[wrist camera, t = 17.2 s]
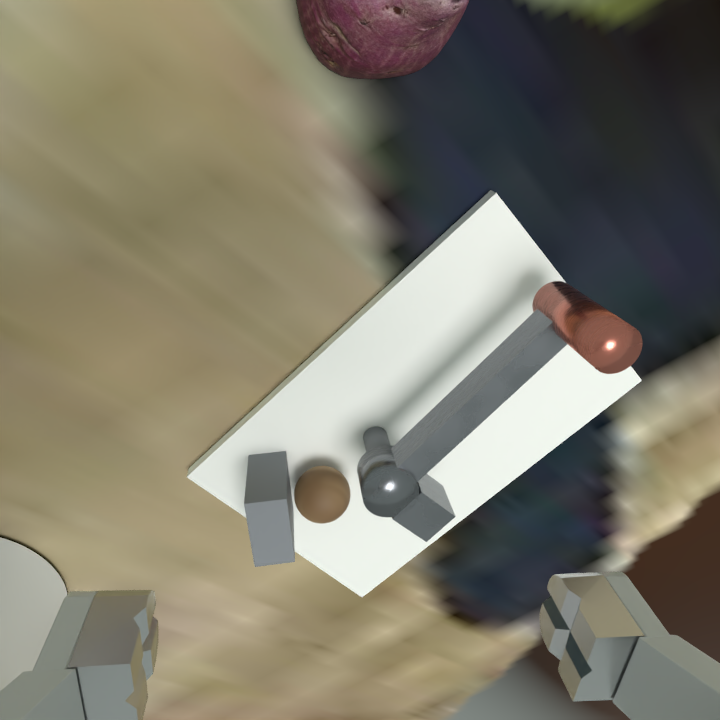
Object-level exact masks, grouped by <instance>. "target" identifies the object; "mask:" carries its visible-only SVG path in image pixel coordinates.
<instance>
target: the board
mask: <svg viewBox="0 0 720 720" xmlns="http://www.w3.org/2000/svg"><path fill="white" fill-rule="evenodd" d="M553 281H562V282H565V281H564V280H563V278H562V277H561V276H560V274H559V273H558V272H557V270H556V269H555V268H554V267H553V265H552V264H551V263H550V261H549V260H548V259H547V258H546V256H545V255H544V254H543V252H542V251H541V250H540V249H539V247H538V246H537V245H536V243H535V242H534V241H533V240H532V238H531V237H530V236H529V234H528V233H527V232H526V231H525V229H524V228H523V227H522V225H521V224H520V223H519V222H518V220H517V219H516V218H515V216H514V215H513V214H512V213H511V211H510V210H509V209H508V207H507V206H506V205H505V204H504V202H503V201H502V200H501V198H500V197H499V196H498V194H497V193H495V192H493V191H491V190H490V191H489V192H488V193H487V194H486V195H485V196H484V197H483V198H482V199H480V200H479V201H478V202H477V203H476V204H475V205H474V206H473V207H472V208H471V209H470V210H469V211H467V212H466V213H465V214H464V215H463V216H462V217H461V218H460V219H459V220H458V221H457V222H455V223H454V224H453V225H452V226H451V227H450V228H449V229H448V230H447V231H446V232H445V233H444V234H442V235H441V236H440V237H439V238H438V239H437V240H436V241H435V242H434V243H433V244H432V245H431V246H429V247H428V248H427V249H426V250H425V251H424V252H423V253H422V254H421V255H420V256H419V257H418V258H416V259H415V260H414V261H413V262H412V263H411V264H410V265H409V266H408V267H407V268H406V269H404V270H403V271H402V272H401V273H400V274H399V275H398V276H397V277H396V278H395V279H394V280H393V281H391V282H390V283H389V284H388V285H387V286H386V287H385V288H384V289H383V290H382V291H381V292H380V293H378V294H377V295H376V296H375V297H374V298H373V299H372V300H371V301H370V302H369V303H368V304H367V305H365V306H364V307H363V308H362V309H361V310H360V311H359V312H358V313H357V314H356V315H355V316H353V317H352V318H351V319H350V320H349V321H348V322H347V323H346V324H345V325H344V326H343V327H342V328H340V329H339V330H338V331H337V332H336V333H335V334H334V335H333V336H332V337H331V338H330V339H329V340H327V341H326V342H325V343H324V344H323V345H322V346H321V347H320V348H319V349H318V350H317V351H315V352H314V353H313V354H312V355H311V356H310V357H309V358H308V359H307V360H306V361H305V362H304V363H302V364H301V365H300V366H299V367H298V368H297V369H296V370H295V371H294V372H293V373H292V374H291V375H289V376H288V377H287V378H286V379H285V380H284V381H283V382H282V383H281V384H280V385H279V386H278V387H276V388H275V389H274V390H273V391H272V392H271V393H270V394H269V395H268V396H267V397H266V398H264V399H263V400H262V401H261V402H260V403H259V404H258V405H257V406H256V407H255V408H254V409H253V410H251V411H250V412H249V413H248V414H247V415H246V416H245V417H244V418H243V419H242V420H241V421H240V422H238V423H237V424H236V425H235V426H234V427H233V428H232V429H231V430H230V431H229V432H228V433H227V434H225V435H224V436H223V437H222V438H221V439H220V440H219V441H218V442H217V443H216V444H215V445H213V446H212V447H211V448H210V449H209V450H208V451H207V452H206V453H205V454H204V455H203V456H202V457H200V458H199V459H198V460H197V461H196V462H195V463H194V464H193V465H192V466H191V467H190V468H189V470H188V474H187V478H189V479H190V480H192V481H193V482H195V483H196V484H198V485H199V486H200V487H202V488H203V489H205V490H206V491H208V492H209V493H211V494H212V495H214V496H215V497H217V498H218V499H219V500H221V501H222V502H224V503H225V504H227V505H228V506H230V507H231V508H233V509H234V510H235V511H237V512H238V513H240V514H241V515H243V516H244V517H246V518H247V524H248V530H249V536H250V541H251V547H252V553H253V559H254V564H255V567H258V566H266V565H273V564H281V563H289V562H295V552H297V553H298V554H300V555H301V556H302V557H304V558H305V559H307V560H308V561H310V562H311V563H313V564H314V565H316V566H317V567H318V568H320V569H321V570H323V571H324V572H326V573H327V574H329V575H330V576H332V577H333V578H335V579H336V580H337V581H339V582H340V583H342V584H343V585H345V586H346V587H348V588H349V589H351V590H352V591H353V592H355V593H356V594H358V595H359V596H361V597H363V596H364V595H366V594H367V593H368V592H370V591H371V590H372V589H373V588H375V587H376V586H377V585H379V584H380V583H381V582H382V581H384V580H385V579H386V578H388V577H389V576H390V575H391V574H393V573H394V572H395V571H397V570H398V569H399V568H401V567H402V566H403V565H404V564H406V563H407V562H408V561H410V560H411V559H412V558H413V557H415V556H416V555H417V554H419V553H420V552H421V551H422V550H424V549H425V548H426V547H428V546H429V545H430V544H431V543H433V542H434V541H435V540H437V539H438V538H439V537H441V536H442V535H443V534H444V533H446V532H447V531H448V530H450V529H451V528H452V527H453V526H455V525H456V524H457V523H459V522H460V521H461V520H462V519H464V518H465V517H466V516H468V515H469V514H470V513H472V512H473V511H474V510H475V509H477V508H478V507H479V506H481V505H482V504H483V503H484V502H486V501H487V500H488V499H490V498H491V497H492V496H493V495H495V494H496V493H497V492H499V491H500V490H501V489H503V488H504V487H505V486H506V485H508V484H509V483H510V482H512V481H513V480H514V479H515V478H517V477H518V476H519V475H521V474H522V473H523V472H524V471H526V470H527V469H528V468H530V467H531V466H532V465H533V464H535V463H536V462H537V461H539V460H540V459H541V458H543V457H544V456H545V455H546V454H548V453H549V452H550V451H552V450H553V449H554V448H555V447H557V446H558V445H559V444H561V443H562V442H563V441H564V440H566V439H567V438H568V437H570V436H571V435H572V434H574V433H575V432H576V431H577V430H579V429H580V428H581V427H583V426H584V425H585V424H586V423H588V422H589V421H590V420H592V419H593V418H594V417H595V416H597V415H598V414H599V413H601V412H602V411H603V410H605V409H606V408H607V407H608V406H610V405H611V404H612V403H614V402H615V401H616V400H617V399H619V398H620V397H621V396H623V395H624V394H625V393H626V392H628V391H629V390H630V389H632V388H633V387H634V386H635V385H637V384H638V383H639V382H641V381H642V380H641V379H640V377H639V376H638V375H637V374H636V372H635V371H634V370H633V368H632V367H631V366H630V367H628V368H627V369H625V370H623V371H621V372H619V373H615V374H605V373H602V372H599V371H598V370H597V369H595V368H594V367H593V366H592V365H591V364H590V363H589V362H587V361H586V360H585V359H584V358H583V357H582V356H580V355H579V354H578V353H577V352H576V351H575V350H574V349H572V348H571V347H570V346H569V345H568V344H567V345H566V346H565V347H564V348H563V349H562V350H561V351H560V352H559V353H557V354H556V355H555V356H554V357H553V358H552V359H551V360H550V361H549V362H548V363H547V364H545V365H544V366H543V367H542V368H541V369H540V370H539V371H538V372H537V373H536V374H535V375H533V376H532V377H531V378H530V379H529V380H528V381H527V382H526V383H525V384H524V385H523V386H521V387H520V388H519V389H518V390H517V391H516V392H515V393H514V394H513V395H512V396H511V397H510V398H508V399H507V400H506V401H505V402H504V403H503V404H502V405H501V406H500V407H499V408H498V409H496V410H495V411H494V412H493V413H492V414H491V415H490V416H489V417H488V418H487V419H486V420H484V421H483V422H482V423H481V424H480V425H479V426H478V427H477V428H476V429H475V430H474V431H472V432H471V433H470V434H469V435H468V436H467V437H466V438H465V439H464V440H463V441H462V442H461V443H459V444H458V445H457V446H456V447H455V448H454V449H453V450H452V451H451V452H450V453H449V454H447V455H446V456H445V457H444V458H443V459H442V460H441V461H440V462H439V463H438V464H437V465H435V466H434V467H433V468H432V469H431V470H430V471H429V472H428V473H427V474H428V475H429V476H431V477H432V478H433V479H435V480H436V481H437V482H439V483H440V484H441V485H443V487H444V490H445V492H446V494H447V497H448V499H449V502H450V504H451V507H452V509H453V511H454V514H455V516H456V517H455V518H454V519H452V520H451V521H450V522H449V523H448V524H447V525H446V526H444V527H443V528H442V529H441V530H440V531H439V532H438V533H436V534H435V535H434V536H433V537H432V538H431V539H430V540H428V541H427V542H425V541H424V540H422V539H421V538H419V537H418V536H416V535H415V534H413V533H412V532H411V531H409V530H408V529H406V528H405V527H403V526H402V525H400V524H399V523H397V522H396V521H394V520H393V519H392V517H380V516H376V515H374V514H372V513H371V512H370V511H368V510H367V508H366V507H365V505H364V503H363V499H362V494H361V489H360V484H359V479H358V474H357V466H358V462H359V460H360V458H361V457H362V456H363V455H364V454H365V453H366V452H367V451H368V450H370V449H372V448H374V447H377V446H381V445H391V446H394V445H395V444H396V443H397V442H398V441H399V440H400V439H401V438H402V437H403V436H405V435H406V434H407V433H408V432H409V431H410V430H411V429H412V428H413V427H414V426H415V425H416V424H417V423H418V422H419V421H420V420H421V419H422V418H423V417H424V416H426V415H427V414H428V413H429V412H430V411H431V410H432V409H433V408H434V407H435V406H436V405H437V404H438V403H439V402H440V401H441V400H442V399H443V398H444V397H445V396H446V395H448V394H449V393H450V392H451V391H452V390H453V389H454V388H455V387H456V386H457V385H458V384H459V383H460V382H461V381H462V380H463V379H464V378H465V377H466V376H467V375H469V374H470V373H471V372H472V371H473V370H474V369H475V368H476V367H477V366H478V365H479V364H480V363H481V362H482V361H483V360H484V359H485V358H486V357H487V356H488V355H489V354H491V353H492V352H493V351H494V350H495V349H496V348H497V347H498V346H499V345H500V344H501V343H502V342H503V341H504V340H505V339H506V338H507V337H508V336H509V335H510V334H511V333H513V332H514V331H515V330H516V329H517V328H518V327H519V326H520V325H521V324H522V323H523V322H524V321H525V320H526V319H527V318H528V317H529V316H530V315H531V314H532V313H534V312H533V307H532V305H533V299H534V297H535V295H536V293H537V292H538V290H539V289H540V288H541V287H543V286H544V285H546V284H547V283H550V282H553ZM565 283H566V282H565ZM316 466H329V467H332V468H335V469H337V470H338V471H340V472H341V473H342V474H343V475H344V477H345V478H346V480H347V481H348V484H349V487H350V502H349V505H348V507H347V509H346V511H345V512H344V513H343V515H341V516H340V517H339V518H338V519H336V520H335V521H332V522H330V523H324V524H319V523H314V522H311V521H309V520H307V519H306V518H305V517H303V516H302V515H301V513H300V512H299V511H298V509H297V507H296V504H295V500H294V490H295V486H296V483H297V481H298V479H299V478H300V477H301V475H302V474H303V473H304V472H306V471H307V470H309V469H311V468H313V467H316Z"/></svg>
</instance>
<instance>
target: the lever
mask: <svg viewBox="0 0 720 720" xmlns="http://www.w3.org/2000/svg"><path fill="white" fill-rule="evenodd" d="M532 307H533V312H534V313H532V314H531V315H530V316H529V317H528V318H527V319H526V320H525V321H524V322H523V323H522V324H521V325H520V326H519V327H518V328H517V329H516V330H515V331H514V332H513V333H511V334H510V335H509V336H508V337H507V338H506V339H505V340H504V341H503V342H502V343H501V344H500V345H499V346H498V347H497V348H496V349H495V350H494V351H493V352H492V353H491V354H489V355H488V356H487V357H486V358H485V359H484V360H483V361H482V362H481V363H480V364H479V365H478V366H477V367H476V368H475V369H474V370H473V371H472V372H471V373H470V374H469V375H467V376H466V377H465V378H464V379H463V380H462V381H461V382H460V383H459V384H458V385H457V386H456V387H455V388H454V389H453V390H452V391H451V392H450V393H449V394H448V395H446V396H445V397H444V398H443V399H442V400H441V401H440V402H439V403H438V404H437V405H436V406H435V407H434V408H433V409H432V410H431V411H430V412H429V413H428V414H427V415H426V416H424V417H423V418H422V419H421V420H420V421H419V422H418V423H417V424H416V425H415V426H414V427H413V428H412V429H411V430H410V431H409V432H408V433H407V434H406V435H405V436H403V437H402V438H401V439H400V440H399V441H398V442H397V443H396V444H395V445H394V446H391V445H381V446H377V447H374V448H372V449H370V450H368V451H367V452H366V453H365V454H364V455H363V456H362V457H361V458H360V460H359V462H358V466H357V474H358V479H359V484H360V489H361V494H362V499H363V503H364V505H365V507H366V508H367V510H368V511H370V512H371V513H372V514H374V515H376V516H380V517H392V519H393V520H394V521H396V522H397V523H399V524H400V525H402V526H403V527H405V528H406V529H408V530H409V531H411V532H412V533H413V534H415V535H416V536H418V537H419V538H421V539H422V540H424V541H425V542H427V541H428V540H430V539H431V538H432V537H433V536H434V535H435V534H436V533H438V532H439V531H440V530H441V529H442V528H443V527H444V526H446V525H447V524H448V523H449V522H450V521H451V520H452V519H454V518H455V517H456V516H455V514H454V511H453V509H452V507H451V504H450V502H449V499H448V497H447V494H446V492H445V490H444V487H443V485H441V484H440V483H439V482H437V481H436V480H435V479H433V478H432V477H431V476H429V475H428V474H427V473H428V472H429V471H430V470H431V469H432V468H433V467H434V466H435V465H437V464H438V463H439V462H440V461H441V460H442V459H443V458H444V457H445V456H446V455H447V454H449V453H450V452H451V451H452V450H453V449H454V448H455V447H456V446H457V445H458V444H459V443H461V442H462V441H463V440H464V439H465V438H466V437H467V436H468V435H469V434H470V433H471V432H472V431H474V430H475V429H476V428H477V427H478V426H479V425H480V424H481V423H482V422H483V421H484V420H486V419H487V418H488V417H489V416H490V415H491V414H492V413H493V412H494V411H495V410H496V409H498V408H499V407H500V406H501V405H502V404H503V403H504V402H505V401H506V400H507V399H508V398H510V397H511V396H512V395H513V394H514V393H515V392H516V391H517V390H518V389H519V388H520V387H521V386H523V385H524V384H525V383H526V382H527V381H528V380H529V379H530V378H531V377H532V376H533V375H535V374H536V373H537V372H538V371H539V370H540V369H541V368H542V367H543V366H544V365H545V364H547V363H548V362H549V361H550V360H551V359H552V358H553V357H554V356H555V355H556V354H557V353H559V352H560V351H561V350H562V349H563V348H564V347H565V346H566V345H567V344H568V345H569V346H570V347H571V348H572V349H574V350H575V351H576V352H577V353H578V354H579V355H580V356H582V357H583V358H584V359H585V360H586V361H587V362H589V363H590V364H591V365H592V366H593V367H594V368H595V369H597V370H598V371H599V372H602V373H605V374H615V373H619V372H621V371H623V370H625V369H627V368H628V367H630V366H631V365H632V364H633V363H634V362H635V361H636V359H637V358H638V356H639V355H640V352H641V349H642V337H641V335H640V333H639V331H638V330H637V329H636V328H634V327H632V326H631V325H629V324H628V323H626V322H625V321H623V320H622V319H620V318H619V317H617V316H616V315H614V314H613V313H611V312H610V311H608V310H607V309H605V308H604V307H602V306H601V305H599V304H597V303H596V302H594V301H593V300H591V299H590V298H588V297H587V296H585V295H584V294H582V293H581V292H579V291H578V290H576V289H575V288H573V287H572V286H570V285H569V284H567V283H565V282H562V281H553V282H550V283H547V284H546V285H544V286H543V287H541V288H540V289H539V290H538V292H537V293H536V295H535V297H534V299H533V305H532Z"/></svg>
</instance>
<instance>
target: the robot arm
mask: <svg viewBox="0 0 720 720" xmlns="http://www.w3.org/2000/svg"><path fill="white" fill-rule="evenodd" d="M547 589H548V591H549V593H550V594H551V596H550V597H549V598H548V599H547V600H545V601H544V602H543V603H542V607H541V611H540V615H539V616H540V629H541V633H542V636H543V640H544V642H545V644H546V646H547V648H548V650H549V651H550V652H551V653H552V654H553V655H555V656H556V657H557V658H558V659H560V664H559V668H558V671H559V673H560V675H561V678H562V680H563V682H564V684H565V686H566V688H567V689H568V692H569V694H570V696H571V698H572V700H573V701H593V700H613V703H614V704H615V705H616V706H617V707H618V708H619V709H621V710H622V711H623V712H624V713H625V714H626V715H627V716H628V717H629V718H630V719H631V720H720V663H718V662H717V661H715V660H714V659H712V658H710V657H709V656H707V655H706V654H704V653H703V652H701V651H700V650H698V649H697V648H695V647H694V646H692V645H691V644H689V643H688V642H686V641H685V640H683V639H682V638H680V637H678V636H677V635H669V633H668V632H667V631H666V629H665V628H664V627H663V625H662V624H661V622H660V621H659V620H658V618H657V617H656V616H655V614H654V613H653V611H652V610H651V609H650V607H649V606H648V604H647V603H646V602H645V600H644V599H643V598H642V596H641V595H640V593H639V592H638V591H637V589H636V588H635V587H634V585H633V584H632V582H631V581H630V580H629V579H628V577H627V576H626V575H625V574H623V573H622V572H599V573H575V574H555V575H553V576H552V577H551V578H550V580H549V583H548V586H547ZM155 606H156V600H155V593H154V591H153V590H116V591H74V592H70V593H69V594H68V595H67V591H66V587H65V585H64V582H63V580H62V579H61V577H60V575H59V574H58V573H57V571H56V570H55V569H54V568H53V567H52V566H51V565H50V564H49V563H48V562H47V561H46V560H45V559H44V558H42V557H41V556H40V555H38V554H37V553H35V552H33V551H32V550H30V549H28V548H26V547H24V546H22V545H20V544H18V543H15V542H13V541H10V540H7V539H4V538H0V720H143V715H144V711H145V707H146V703H147V698H148V693H147V683H146V680H147V679H148V678H149V677H150V676H151V675H152V674H153V672H154V667H155V662H156V656H157V648H158V620H156V619H155V618H154V617H153V614H154V610H155Z"/></svg>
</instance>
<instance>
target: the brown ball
mask: <svg viewBox="0 0 720 720" xmlns="http://www.w3.org/2000/svg"><path fill="white" fill-rule="evenodd" d="M294 500H295V504H296V507H297V509H298V511H299V512H300V513H301V515H302V516H303V517H305V518H306V519H307V520H309V521H311V522H314V523H319V524H324V523H330V522H332V521H335V520H336V519H338V518H339V517H340V516H341V515H343V513H344V512H345V511H346V509H347V507H348V505H349V502H350V487H349V484H348V481H347V480H346V478H345V477H344V475H343V474H342V473H341V472H340V471H338V470H337V469H335V468H332V467H329V466H316V467H313V468H311V469H309V470H307V471H306V472H304V473H303V474H302V475H301V477H300V478H299V479H298V481H297V483H296V486H295V490H294Z"/></svg>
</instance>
